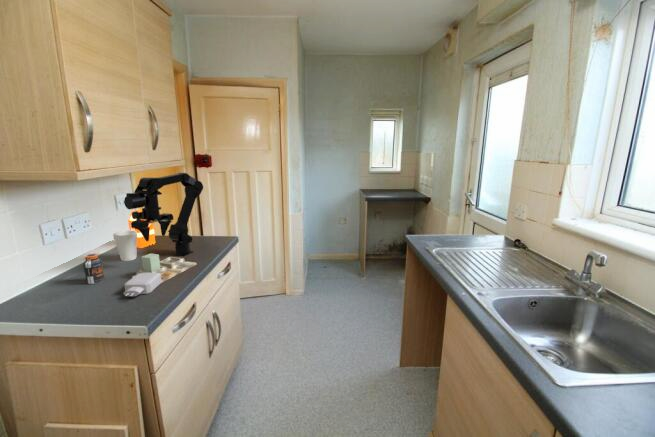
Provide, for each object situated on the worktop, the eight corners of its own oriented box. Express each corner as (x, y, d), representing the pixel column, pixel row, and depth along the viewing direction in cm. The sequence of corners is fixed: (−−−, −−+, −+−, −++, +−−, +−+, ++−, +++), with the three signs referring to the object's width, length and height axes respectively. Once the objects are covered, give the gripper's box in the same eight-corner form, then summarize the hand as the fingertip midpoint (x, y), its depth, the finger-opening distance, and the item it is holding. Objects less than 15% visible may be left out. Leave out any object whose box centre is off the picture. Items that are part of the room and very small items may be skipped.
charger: (115, 302, 108) (138, 284, 123) (142, 301, 109) (162, 283, 123) (113, 290, 107) (136, 273, 122) (140, 289, 108) (160, 272, 122)
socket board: (170, 260, 147) (169, 255, 146) (196, 264, 143) (196, 258, 142) (131, 278, 127) (131, 272, 126) (161, 283, 123) (160, 276, 122)
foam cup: (132, 254, 155) (129, 229, 152) (144, 257, 151) (140, 231, 148) (113, 260, 147) (108, 234, 144) (124, 263, 143) (120, 236, 140)
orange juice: (155, 243, 172) (151, 209, 168) (141, 248, 165) (136, 212, 160) (146, 241, 176) (142, 207, 171) (131, 246, 168) (126, 210, 163)
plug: (152, 270, 133) (150, 253, 131) (160, 272, 132) (158, 254, 130) (143, 274, 129) (141, 256, 127) (152, 276, 128) (149, 258, 126)
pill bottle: (95, 285, 121) (90, 258, 118) (82, 283, 122) (77, 257, 119) (108, 278, 126) (104, 253, 124) (96, 277, 128) (92, 252, 125)
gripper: (153, 201, 149) (157, 231, 153) (118, 208, 132) (123, 242, 135) (172, 202, 146) (176, 233, 150) (139, 209, 129) (143, 245, 132)
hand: (155, 238), depth 142 cm, fingers open, 9 cm apart
